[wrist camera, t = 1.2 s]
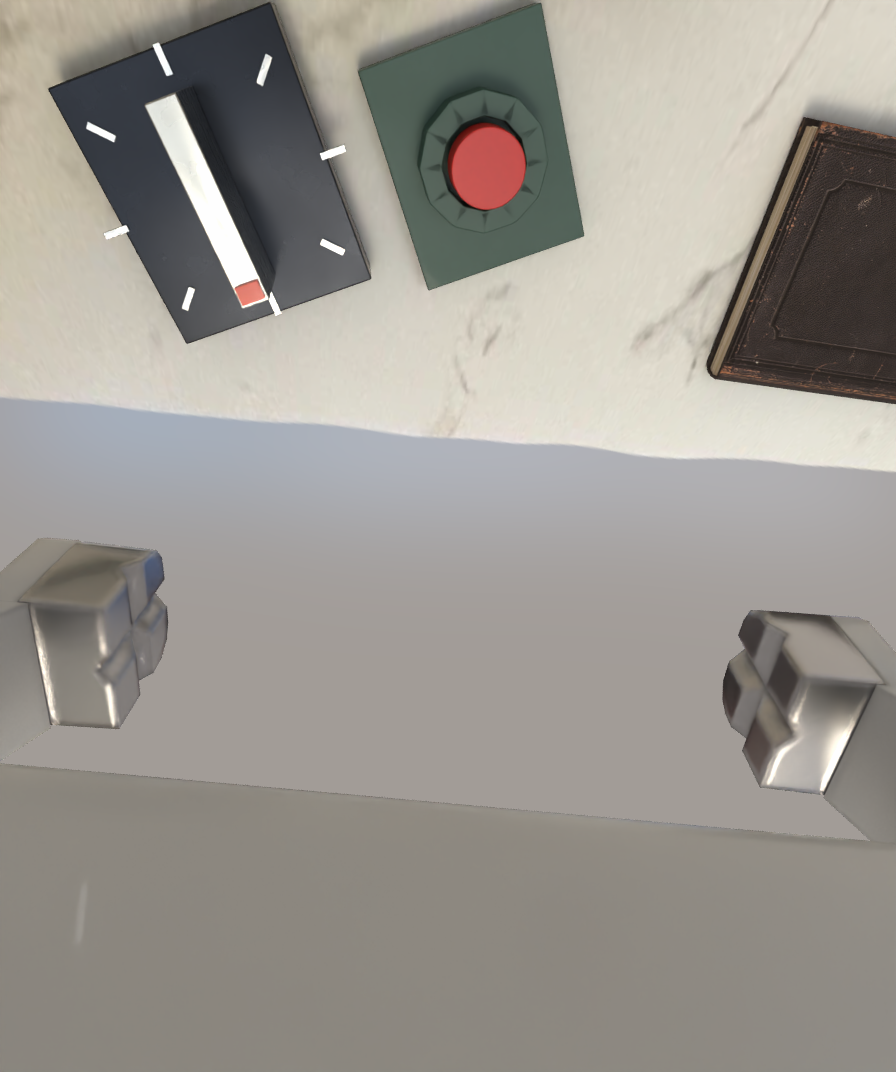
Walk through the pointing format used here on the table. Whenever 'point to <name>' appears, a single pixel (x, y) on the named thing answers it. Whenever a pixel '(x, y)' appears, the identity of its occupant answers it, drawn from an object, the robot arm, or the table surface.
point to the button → (486, 166)
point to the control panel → (251, 156)
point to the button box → (448, 109)
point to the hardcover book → (821, 274)
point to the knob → (213, 194)
